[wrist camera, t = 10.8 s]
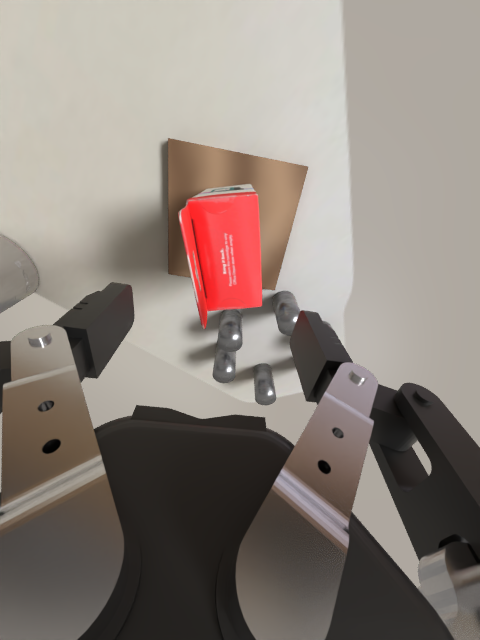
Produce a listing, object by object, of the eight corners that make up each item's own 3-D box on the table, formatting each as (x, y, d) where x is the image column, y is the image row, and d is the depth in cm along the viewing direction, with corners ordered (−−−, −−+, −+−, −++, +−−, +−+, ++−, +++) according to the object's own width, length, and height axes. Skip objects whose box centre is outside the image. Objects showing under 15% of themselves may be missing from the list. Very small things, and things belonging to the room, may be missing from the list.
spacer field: (212, 370, 41) (209, 399, 36) (225, 281, 32) (222, 303, 27) (306, 382, 43) (315, 410, 38) (345, 300, 33) (363, 323, 28)
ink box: (256, 260, 29) (267, 330, 17) (217, 264, 29) (199, 335, 17) (251, 181, 24) (263, 197, 12) (205, 186, 25) (169, 207, 12)
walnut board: (170, 270, 31) (168, 274, 30) (171, 139, 23) (168, 138, 22) (273, 286, 32) (274, 290, 31) (305, 166, 25) (308, 166, 24)
